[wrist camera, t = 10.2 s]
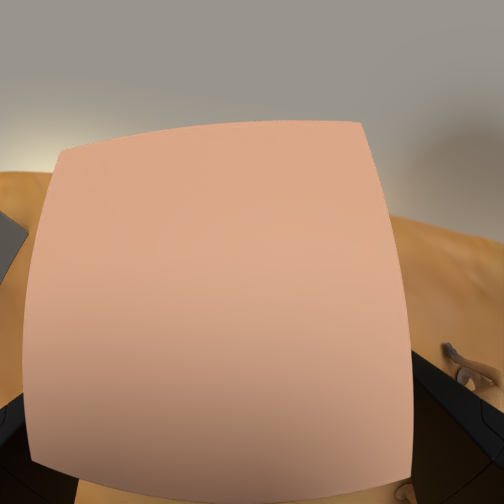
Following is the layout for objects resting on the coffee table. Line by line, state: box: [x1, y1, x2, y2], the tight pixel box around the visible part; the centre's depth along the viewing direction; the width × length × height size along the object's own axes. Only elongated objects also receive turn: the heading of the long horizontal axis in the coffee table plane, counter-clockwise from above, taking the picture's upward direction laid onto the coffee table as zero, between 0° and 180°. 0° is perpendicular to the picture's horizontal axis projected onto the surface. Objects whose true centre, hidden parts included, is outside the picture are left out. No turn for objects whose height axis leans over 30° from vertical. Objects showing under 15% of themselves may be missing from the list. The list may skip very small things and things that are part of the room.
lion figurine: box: [395, 343, 504, 504], centre depth 10 cm, size 15×5×9 cm, turn 176°
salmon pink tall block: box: [22, 120, 413, 504], centre depth 10 cm, size 5×5×14 cm
